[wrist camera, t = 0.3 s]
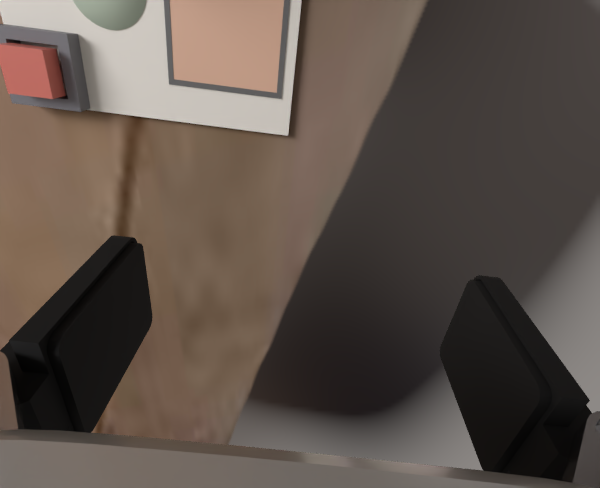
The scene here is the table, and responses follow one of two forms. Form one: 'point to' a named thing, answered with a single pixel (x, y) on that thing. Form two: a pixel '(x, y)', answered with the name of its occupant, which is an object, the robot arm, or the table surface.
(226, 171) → the table surface
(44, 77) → the button
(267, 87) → the picture board
